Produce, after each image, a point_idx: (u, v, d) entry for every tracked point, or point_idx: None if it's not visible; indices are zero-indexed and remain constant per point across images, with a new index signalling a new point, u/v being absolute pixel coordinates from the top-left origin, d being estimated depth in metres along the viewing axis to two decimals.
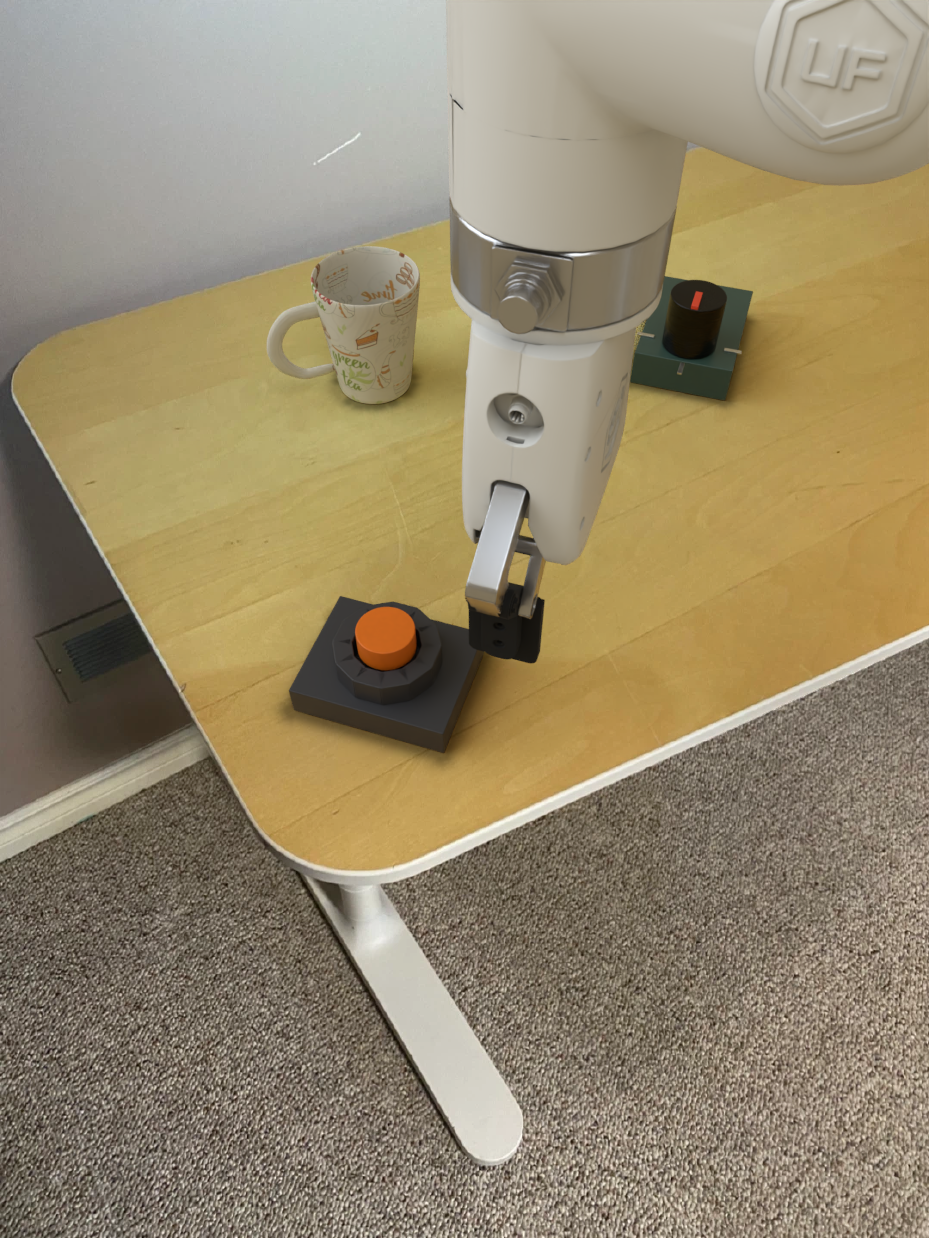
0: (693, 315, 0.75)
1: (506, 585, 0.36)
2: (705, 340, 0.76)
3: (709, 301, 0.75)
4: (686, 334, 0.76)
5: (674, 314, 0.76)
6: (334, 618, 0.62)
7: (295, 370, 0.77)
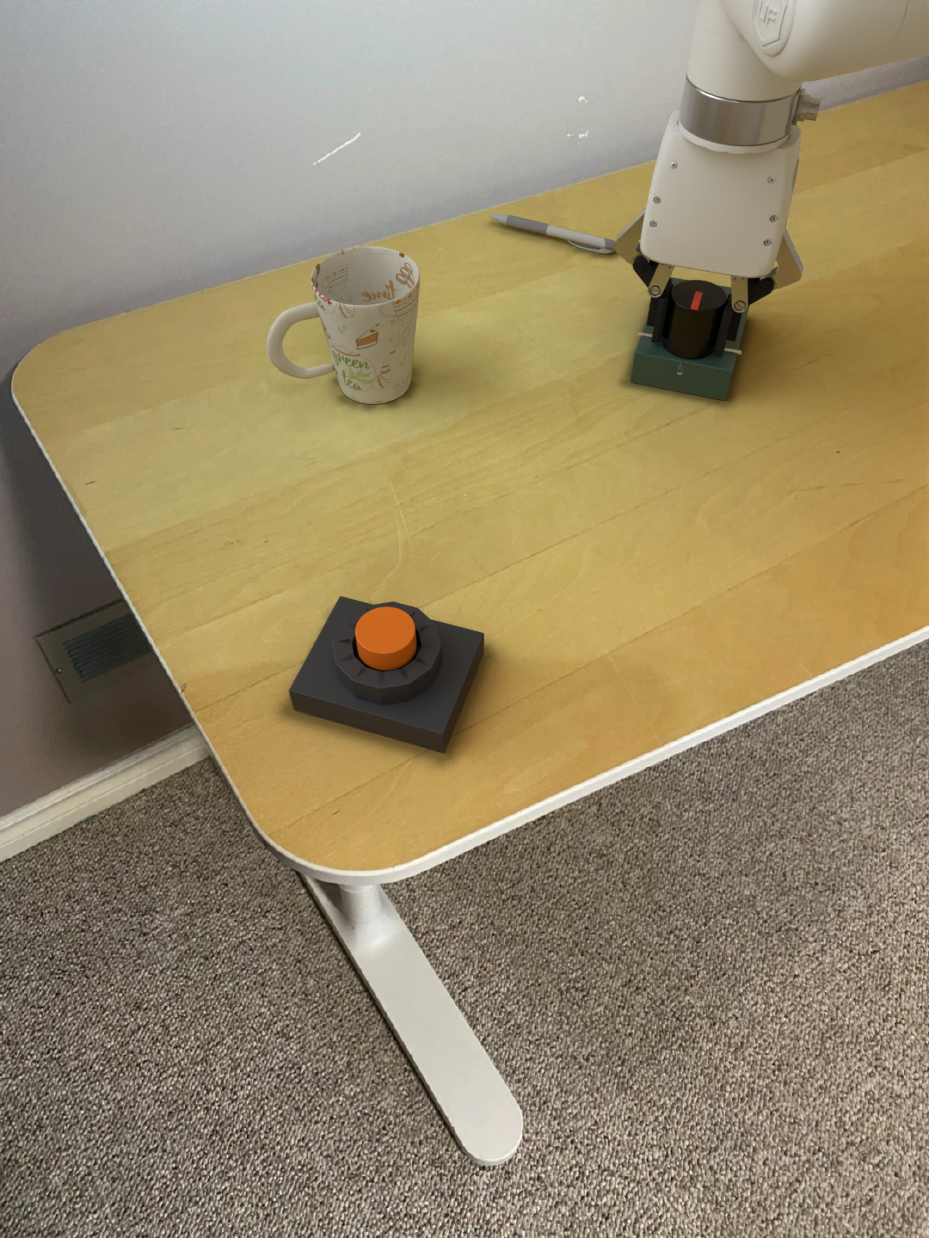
0: (693, 315, 0.75)
1: None
2: (705, 340, 0.76)
3: (709, 301, 0.75)
4: (686, 334, 0.76)
5: (674, 314, 0.76)
6: (334, 618, 0.62)
7: (295, 370, 0.77)
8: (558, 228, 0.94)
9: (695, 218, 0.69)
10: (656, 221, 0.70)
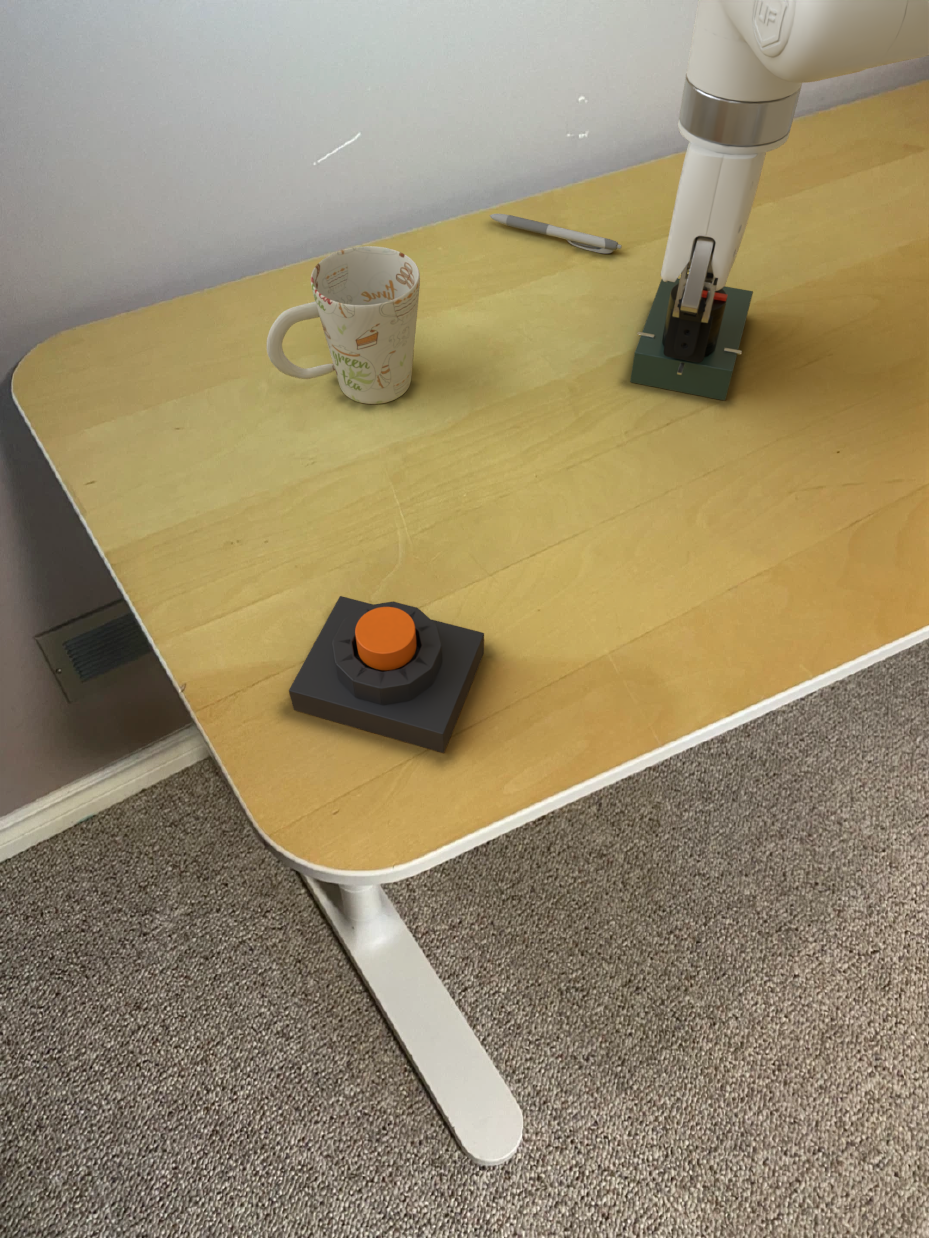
0: (725, 305, 0.76)
1: None
2: None
3: None
4: (720, 326, 0.77)
5: (713, 320, 0.75)
6: (334, 618, 0.62)
7: (295, 370, 0.77)
8: (558, 228, 0.94)
9: (748, 218, 0.69)
10: (735, 248, 0.68)
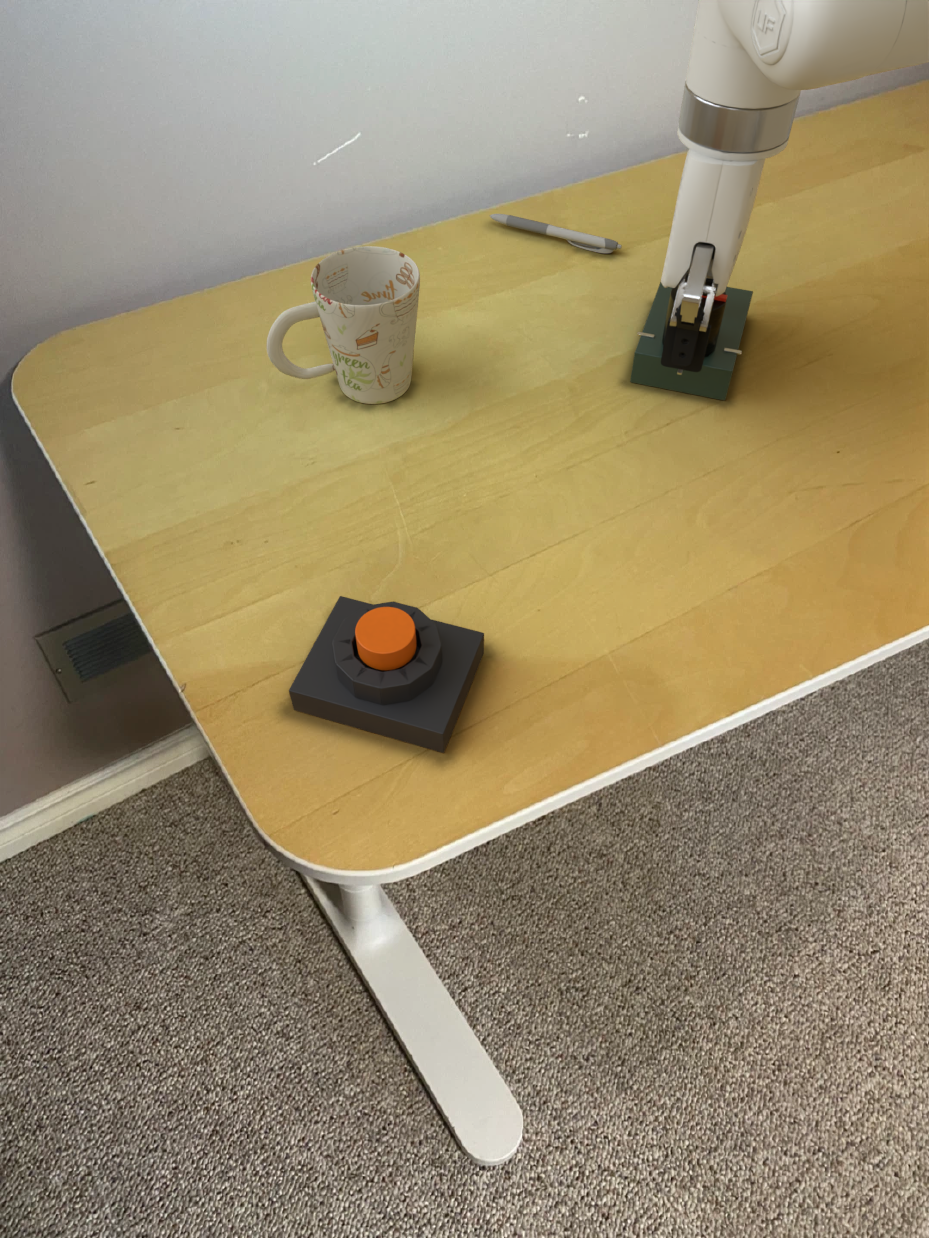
0: (725, 305, 0.75)
1: None
2: None
3: None
4: (720, 326, 0.77)
5: (712, 320, 0.75)
6: (334, 618, 0.62)
7: (295, 370, 0.77)
8: (558, 228, 0.94)
9: (747, 224, 0.69)
10: (735, 253, 0.68)
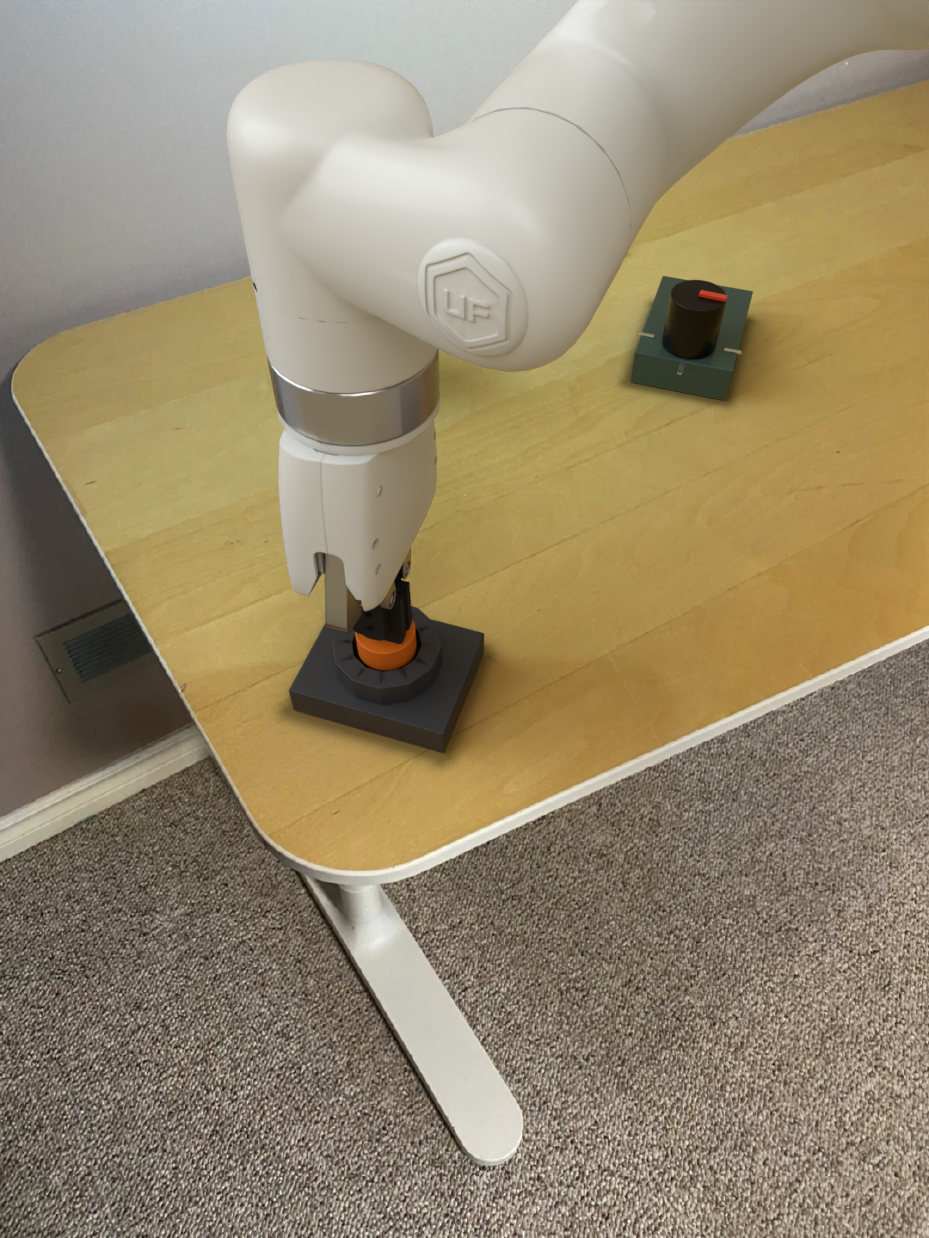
0: (725, 305, 0.75)
1: None
2: None
3: (709, 290, 0.76)
4: (720, 326, 0.77)
5: (712, 320, 0.75)
6: None
7: None
8: None
9: (404, 513, 0.47)
10: (379, 563, 0.46)
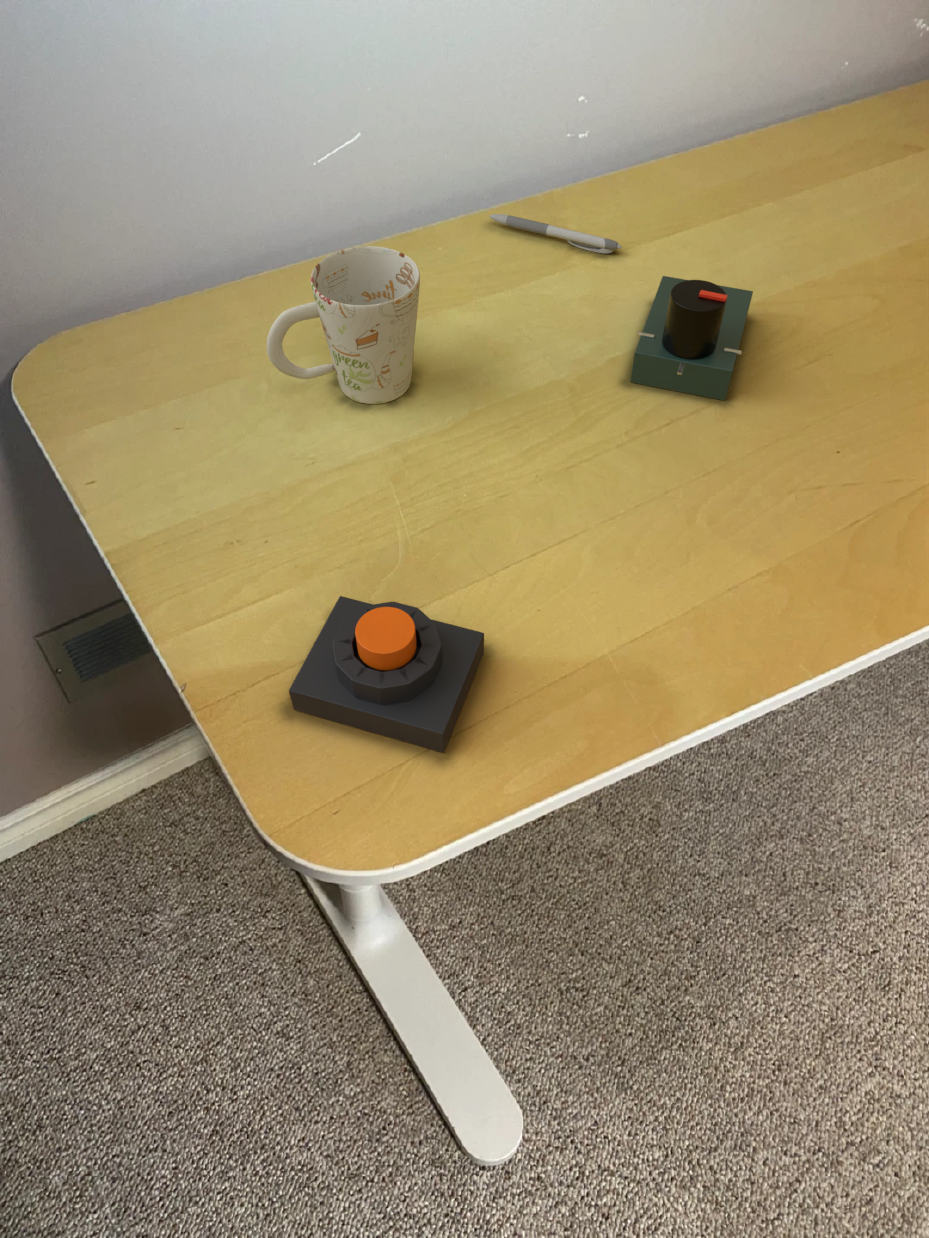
0: (725, 305, 0.75)
1: None
2: None
3: (709, 290, 0.76)
4: (720, 326, 0.77)
5: (712, 320, 0.75)
6: (334, 618, 0.62)
7: (295, 370, 0.77)
8: (557, 228, 0.94)
9: None
10: None
